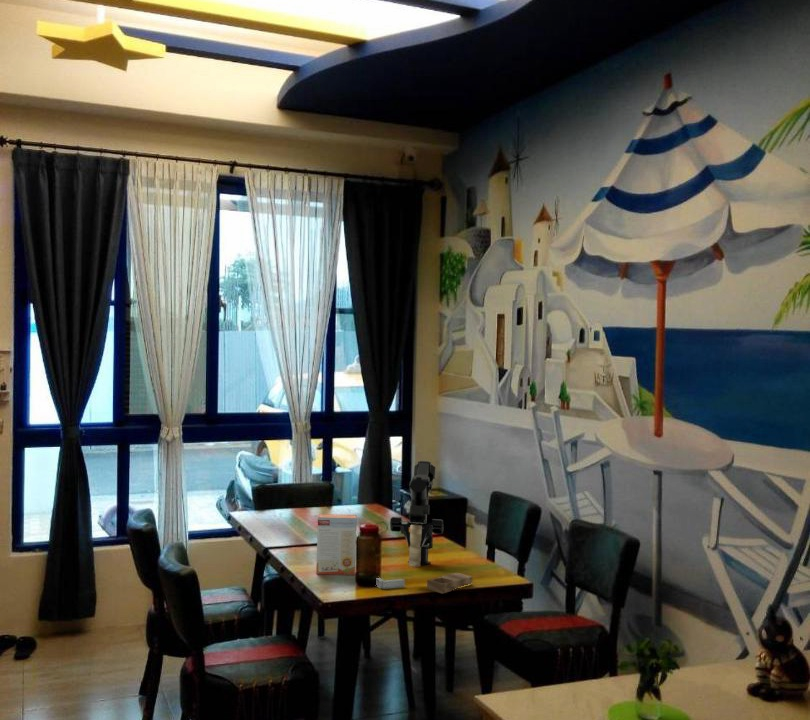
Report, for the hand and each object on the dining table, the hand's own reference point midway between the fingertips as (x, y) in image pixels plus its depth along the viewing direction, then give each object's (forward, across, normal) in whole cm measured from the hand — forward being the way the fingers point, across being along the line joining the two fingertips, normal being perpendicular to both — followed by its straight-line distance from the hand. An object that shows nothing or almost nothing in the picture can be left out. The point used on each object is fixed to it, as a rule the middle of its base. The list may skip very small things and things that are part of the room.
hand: (414, 546), depth 298 cm
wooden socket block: (+9, +13, +10) cm, 19 cm away
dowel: (+4, 0, +6) cm, 7 cm away
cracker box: (+3, -29, +16) cm, 33 cm away
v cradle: (+12, -9, +7) cm, 17 cm away
